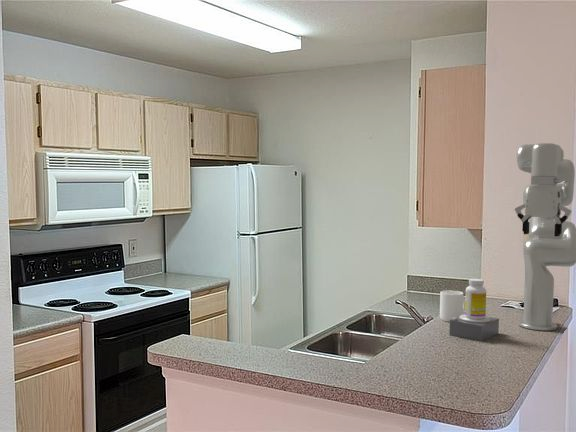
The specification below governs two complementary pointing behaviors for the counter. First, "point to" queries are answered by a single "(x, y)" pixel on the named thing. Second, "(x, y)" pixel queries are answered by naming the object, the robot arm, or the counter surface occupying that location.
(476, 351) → the counter surface
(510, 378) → the counter surface
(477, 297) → the supplement bottle
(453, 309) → the mug
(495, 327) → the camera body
